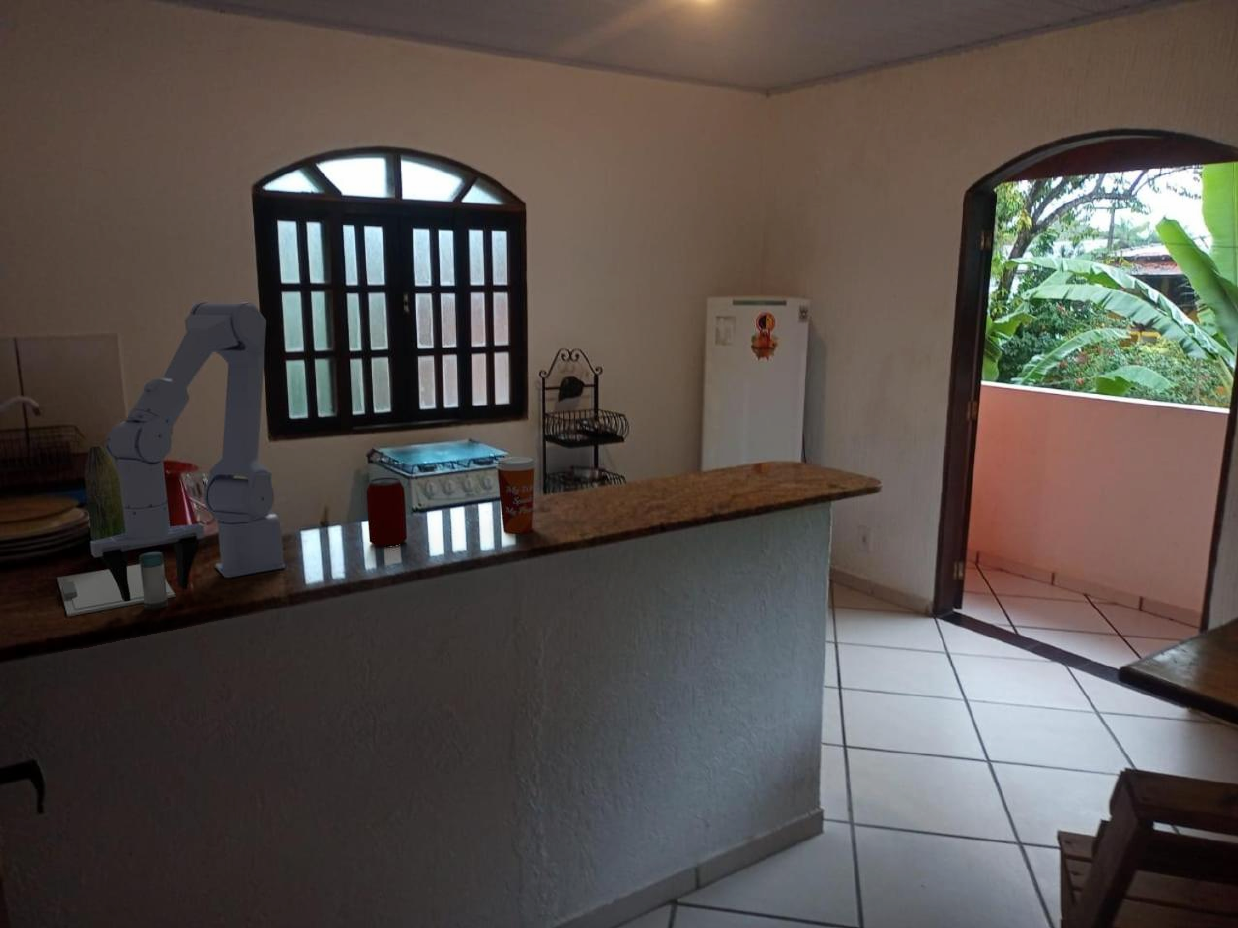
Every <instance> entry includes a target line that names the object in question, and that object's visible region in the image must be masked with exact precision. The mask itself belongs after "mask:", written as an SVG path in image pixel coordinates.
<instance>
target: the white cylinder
mask: <svg viewBox="0 0 1238 928" xmlns="http://www.w3.org/2000/svg"><path fill="white" fill-rule="evenodd" d="M138 558H139V564H140V567H141V576H142V585H143V593H144V608H145V611H159V610H163V609H165V608H167V607H168V606H169V601H168V599H169V598H167V590H166V581H167V580H166V581H165V579H166V575H165V574H166V573H165V564H164V556H163V552H161V551H150V552H145V553H141V554H140V555H139V556H138Z"/></svg>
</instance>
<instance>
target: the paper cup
mask: <svg viewBox="0 0 1238 928" xmlns="http://www.w3.org/2000/svg"><path fill="white" fill-rule="evenodd" d="M536 467H537V465H536V464H535V460H534V459H533V458H531V457H526V456H510V457H509V456H508V457H503V458H500V459H498V460H497V465H495V469H497V477H498V488H499V489H498V490H499V500H500V510H501V520H502V530H503V532H504V533H506V534H509V535H510V534H511V535H512V534H513V535H518V534H519V535H521V534H527V533H529V532H532V529H533V518H534V517H533V516H534V515H533V514H534V511H533V510H534V492H535V491H534V488H535V487H534V485H535V484H534V483H535V468H536Z"/></svg>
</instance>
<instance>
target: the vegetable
mask: <svg viewBox="0 0 1238 928" xmlns="http://www.w3.org/2000/svg"><path fill="white" fill-rule="evenodd" d="M84 480H85V490H86V491H85V492H86V493H85V494H86V504H87V512H88V520H89V531H90V539H91V541H96V540H101V539H105V538H109V537H113V536H117V535H121V534H125V533H126V531H125V523H124V514H123V506H122V498H121V489H120V481H119V473H118V472H117V470H115V465H114V461H113V459H112V458H111V457H110V456H109V455H108V453H107V452H106V449H105V447H103V446H102V445H100V444H99V445H98V444H93V445H92V446H90V447H89V448H88V453H87V457H86V463H85V468H84Z"/></svg>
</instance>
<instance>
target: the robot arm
mask: <svg viewBox="0 0 1238 928" xmlns="http://www.w3.org/2000/svg"><path fill="white" fill-rule="evenodd" d="M184 324H185V330H186V333H185V334H184V336H183V338H182V340H181V341H180V344H179V346H178V347H177V350H176V352H175V353H174V355H173V357H172V360H171V361H170V363H169V365H168V367H167V369H166V371H165V373H164V375H163V376H162V377H158V378H153V379H150V381H149V382H147V383H146V384H145V385H144V387H143V392H142V394H141V395H140V397H139V398H138V399H137V401H136V403H135V404H134V406H133V408H132V409H131V410H130V411H129V413H128V414H127V417H126V419H125V421H121V422H119V423H116V424H115V425H114V426H113V427H112V428H111V429H110V430H109V432H108V435H107V439H106V442H105V443H104V444H103V445H104V449H105V451H106V452H107V453H108V455H109V456H110V457H111V458H112V459H113V461H114V465H115V470H117V472H118V473H119V481H120V489H121V498H122V506H123V514H124V523H125V531H126V533H125V534H121V535H117V536H113V537H109V538H105V539H101V540H96V541H92V540H91V541H89V544H90V552H91V555H92V556H93V557H94V558H99V557H100V558H101V561H103V562H104V565H105V566H106V567H107V570H108V569H109V570H110V572H111V573H112V575H113V577H114V579H115V581H116V583H117V585H118V588H119V590H120V594H121V598H122V599H123V600H124V601H125V602H127V601H130V591H129V586H128V580H127V566H128V560H127V558H126V557H125V555H124V554H125V553H122V552H126V551H131V550H138V549H143V548H148V547H154V546H159V545H165V544H170V543H172V546H173V551H174V552H173V553H174V556H175V562H176V573H177V574H176V576H177V577H176V578H177V584H178V587H179V588H180V589H181V590H187V589H188V586H189V585H188V584H189V577H190V573H191V568H192V566H193V565H192V564H193V562H194V559H195V558H196V556H197V553H198V551H199V548H200V542H199V541H198V540H201V539H205V531H204V525H203V524H201V523H192V524H184V525H183V524H181V525H173V526H172V525H171V524H170V513H169V504H168V495H167V486H166V477H165V476H166V475H165V467H164V465H165V464H164V459H165V458H166V457H167V456H168V454H170V452H171V450H172V445H173V443H172V442H173V441H172V438H173V437H172V436H173V434H174V426H175V424H176V423H177V421H178V419H179V418H180V416H181V414H182V413H183V411H184V409H185V408H186V406H187V404H188V402H189V401H190V396H189V393H188V389H187V388H188V387H189V385H190V384H191V382H192V381H193V380H194V379H195V377H196V376H197V375H198V373H199V372H200V370H201V369H202V367H203V366H204V365H205V363H206V362H207V361H208V360H209V358H210V356H211V355H212V354H213V352H215V353H216V354H218V355H220V356H221V357H222V359H224V360H225V362H226V364H227V375H226V376H227V378H226V391H225V392H226V393H225V395H226V396H225V409H224V410H225V411H224V427H223V439H222V440H223V441H222V456H221V457H222V458H221V459H220V460H219V461H218V462H216V463H215V464H214V465H213V466H212V467H211V468H210V469H209V470H208V471H209V472H208V473H209V474H208V480H207V483H206V485H205V487H204V491H203V503H204V506H205V508H206V509H207V510H208V511H209V512H210V513H212V517H213V519H214V520H216V521H217V530H218V540H219V541H218V542H219V552H220V562H217V563H216V564H215V565H214V566H215V568H216V569H217V570H218V572H219V573H220V574H222V576H223V577H224V578H225V579H231V578H235V577H241V576H246V575H251V574H258V573H262V572H269V571H274V570H279V569H280V570H281V569H285V568H286V564H285V560H284V558H285V557H284V550H283V534H282V527H281V523H280V519H279V517H278V515H277V514H276V513H274V512H273V513H271V512H270V511H271V510H272V507H273V504H274V500H275V493H274V488H273V485H272V472H271V471H270V470H269V469H268V468H267V467H266V466H265V465H263V464H262V463H261V462H260V461H259V449H260V435H261V433H260V431H261V415H262V401H263V386H264V370H265V369H264V368H265V344H266V343H265V342H266V328H267V327H266V326H267V320H266V318H265V317H264V316H263V314H262V312H261V311H260V309H258V307H257V306H256V305H255V304H253V303H252V302H250V301H249V302H247V301H242V302H234V303H233V302H224V303H223V302H220V303H219V302H205V301H201V302H198V303H196V304H195V305H193V307H192V308H191V310H190V313H189V315H187V317H186V318H185V320H184ZM235 476H236V477H235ZM237 476H239V477H244V478H237Z"/></svg>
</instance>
